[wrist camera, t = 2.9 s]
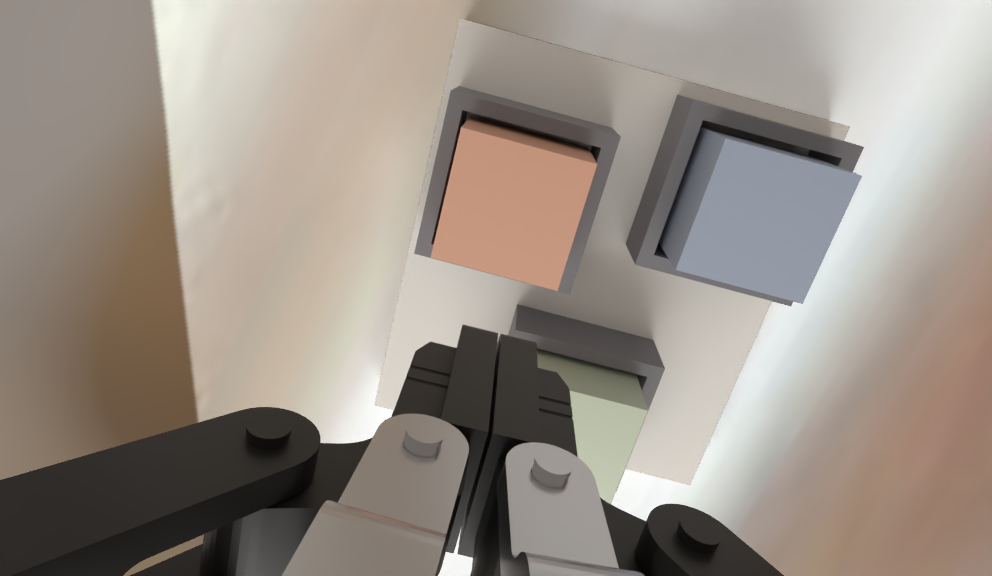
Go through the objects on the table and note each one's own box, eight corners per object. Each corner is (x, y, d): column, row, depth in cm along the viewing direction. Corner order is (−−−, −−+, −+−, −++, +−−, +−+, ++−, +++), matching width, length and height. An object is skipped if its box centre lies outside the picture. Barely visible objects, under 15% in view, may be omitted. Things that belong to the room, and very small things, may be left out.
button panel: (829, 121, 29) (886, 135, 25) (681, 462, 36) (704, 524, 31) (464, 19, 29) (450, 14, 24) (382, 386, 35) (359, 438, 31)
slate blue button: (815, 157, 26) (861, 175, 23) (766, 269, 28) (802, 303, 24) (698, 125, 26) (725, 138, 23) (656, 240, 28) (675, 269, 24)
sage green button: (633, 365, 30) (647, 410, 26) (600, 452, 32) (609, 507, 28) (529, 338, 30) (529, 380, 26) (502, 427, 32) (498, 478, 28)
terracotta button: (588, 147, 27) (597, 164, 23) (554, 258, 29) (557, 290, 25) (471, 115, 27) (461, 127, 23) (444, 229, 28) (430, 257, 25)
